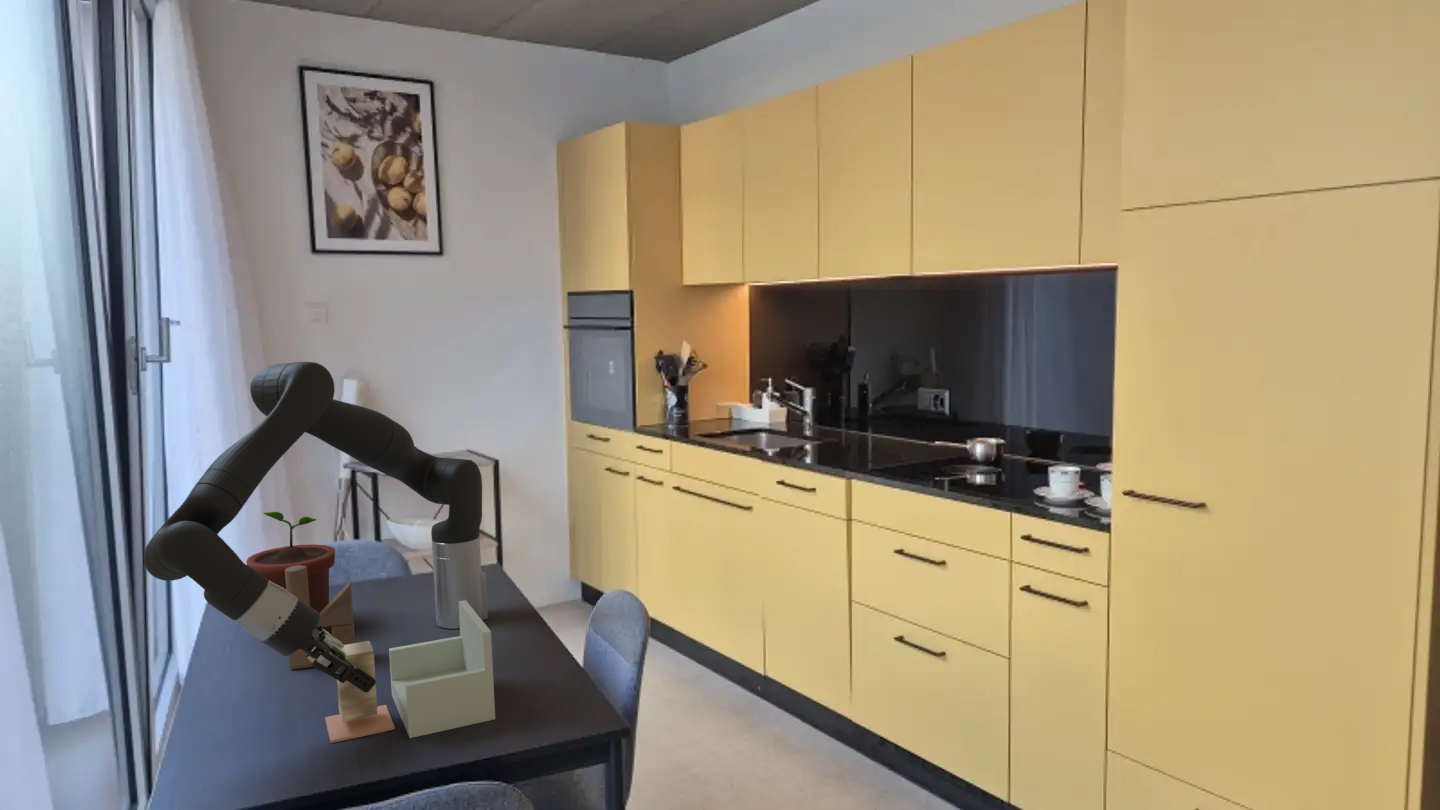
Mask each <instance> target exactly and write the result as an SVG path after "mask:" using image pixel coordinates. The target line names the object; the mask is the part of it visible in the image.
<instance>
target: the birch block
mask: <svg viewBox="0 0 1440 810" xmlns="http://www.w3.org/2000/svg"><path fill="white" fill-rule="evenodd" d="M339 648H340V649H341V650H343V651H344V652H345V653H346V654H347V655H346V659H347V660H349V661H350V662H352V663H353V664H355V665H356V666H357V667H358V668H359V669H361V670H362V671H364V672H365V673H367V674H368V675H370V676H371V677H372V678H374V679H375V680H376V670H375V669H376V668H375V653H374V649H373V646H372V644H371V642H370V640H365V641H360V642H359V641H358V642H355V643H353V644H347V645H344V646H342V647H339ZM337 657H339V654H338V655H337ZM345 669H346V668H345V667H343V666H341V667H340V668H339V669H338V670H339V671H340V672H341V673H342V672H343V671H344V670H345ZM376 683H377V682H376ZM376 683H375V685H374V686H373V687H372V688H371V690H370V691H369V692H367V693H365V692H363V691H362V690H360V689H359V688H357V687H356V686H355V685H353V684H352V683H350V682H349V681H345V682H344V683H342V682H339V681H338V680H337V679H336V686H337V687H336V688H337V702H338V703H337V705H338V710H339V711H338V712H339V714H340V716H341V719H342V722H344V721H349V720H354V719H359V718H364V717H369V716H373V715H377V707H378V703H377V702H378V701H377V685H376Z"/></svg>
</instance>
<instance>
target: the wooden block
mask: <svg viewBox="0 0 1440 810" xmlns="http://www.w3.org/2000/svg"><path fill="white" fill-rule="evenodd" d="M285 577H286V590H287V591H289V592H290V593H291V594H293V595H294V596H296V597H297V598H299V599H300V600H301V601H303V602H304V603H306V604H307V605H308V606H310V602H309V588H308V575H307V567H306V566H302V565H297V566H291V567H288V568H286V569H285ZM353 607H354V606H353V596H352V581H351V580H349V581H348V582H347V583H346V584H345V585H344V587H342V588H341V589H340V591H339V592H337V594H336V595H335V596H334V597H333V598H332V599H331V600H330V601H329V604H328V605H327V606H326V607H325V608H324V609H323V610H322V611H321V612H320V613H319V614H320V621H319V623H318V625H321V626H322V627H328V626H329V627H331V630H330V631H331V634H332V635H333V636H334V637H336V638H337V639H338V640H340V641H341V642H342V643H343V644H346V645H347V644H353V643H356V636H355V633H356V632H355V622H354V608H353ZM306 655H307V654H306V653H305V652H304V651H303V650H302V649H299V650H297V651H295V653H293V654H292V655H290V656H288V657H289V658H288V659H289V669H290V670H292V671H293V670H299V669H306V668H315V667H314V666H313V664H312V662H311V661H310V660H308V659H307V658H306V657H305V656H306Z"/></svg>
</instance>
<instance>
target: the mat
mask: <svg viewBox="0 0 1440 810" xmlns="http://www.w3.org/2000/svg"><path fill="white" fill-rule="evenodd" d="M324 719H325V725H326V729H327V734H328V738H329V742H330V744H334V743H339V742H343V741H348V740H351V739H356V738H361V737H365V736H369V735H375V734H380V733H384V732H389V731H392V730H393V731H394V730H395V728H396V727H395V724H394V722H393V720H392V717H391V713H390V711H389V709H388V706H387V705H386V704H384V705H377V715H373V716H369V717H364V718H359V719H354V720H349V721H344V722H342V719H341V716H340V713H339V714H335V715H329V716H325V717H324Z"/></svg>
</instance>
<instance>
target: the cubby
mask: <svg viewBox="0 0 1440 810" xmlns="http://www.w3.org/2000/svg"><path fill="white" fill-rule="evenodd" d="M459 620H460V628H459V635H458V636H453V637H446V638H440V639H436V640H430V641H429V640H428V641H424V642H418V643H414V644H408V645H403V646H396V647H391V648H388V651H389V652H388V655H389V671H390V673H389V674H390V685H391V686H390V687H391V696H392V699H393V702H394V704H395V707H396V709H397V711H398V714H399V716H400V719H401V721H402V723H403V725H404V729H405V730H406V733H407V735H408V737H409V739H413V738H417V737H421V736H427V735H431V734H434V733H439V732H444V731H448V730H453V729H456V728H461V727H467V726H472V725H476V724H479V723H484V722H489V721H493V720H496V709H495V708H496V705H495V704H496V703H495V688H494V685H495V684H494V668H493V667H494V665H493V646H492V644H493V643H492V630H490V628H489V627H488V626H487V624H485V622H484V620H483V621H482V620H481V618H480V617H479V616H478V615H477V613H476V612H475V611H474V610H473V609H472V607H471V606H470V605H469V604H468V602H467V601H466V600H464V601H459Z"/></svg>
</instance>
